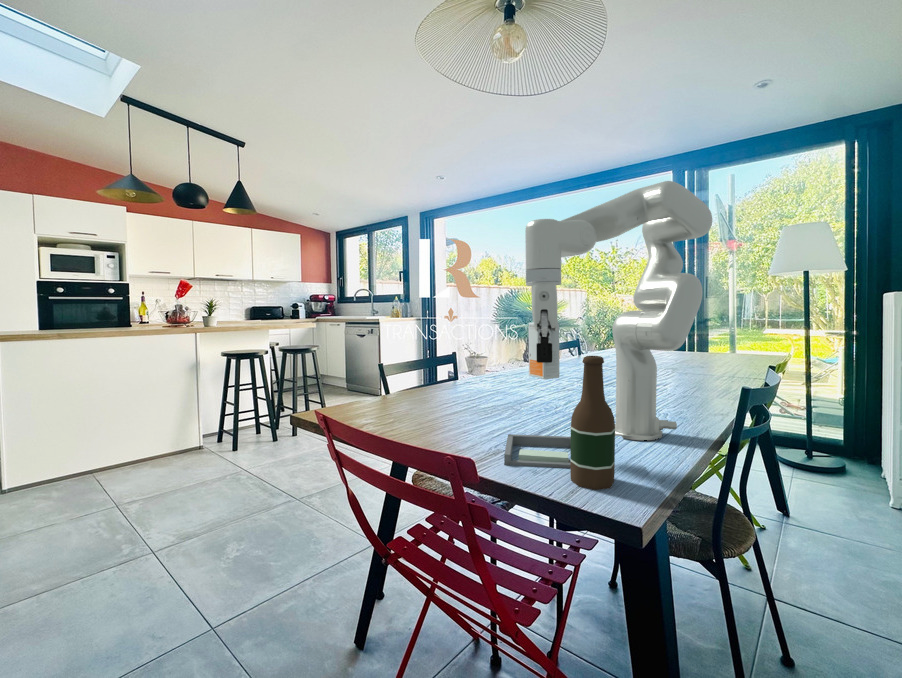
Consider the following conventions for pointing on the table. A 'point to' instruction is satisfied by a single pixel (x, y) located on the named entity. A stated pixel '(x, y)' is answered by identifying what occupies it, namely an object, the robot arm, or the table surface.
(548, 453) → the upper offcut
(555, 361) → the skincare box
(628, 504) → the table surface
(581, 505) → the table surface
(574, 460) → the beer bottle
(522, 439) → the grey tray
